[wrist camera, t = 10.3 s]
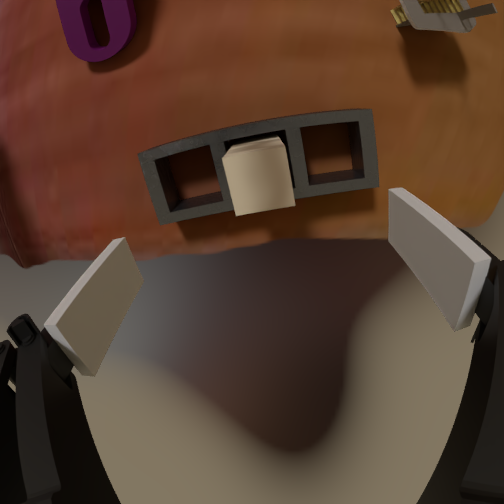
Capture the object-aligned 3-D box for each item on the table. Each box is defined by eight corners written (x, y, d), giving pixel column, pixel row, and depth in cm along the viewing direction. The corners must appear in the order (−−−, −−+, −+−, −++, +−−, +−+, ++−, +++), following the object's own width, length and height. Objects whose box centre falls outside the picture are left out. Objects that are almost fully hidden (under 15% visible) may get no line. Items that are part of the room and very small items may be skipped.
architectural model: (297, -30, 19) (315, -88, 7) (435, -39, 13) (484, -63, 1) (373, 103, 28) (435, 106, 16) (491, 73, 22) (554, 80, 10)
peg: (244, 180, 34) (235, 216, 23) (235, 141, 31) (222, 158, 21) (284, 173, 33) (295, 205, 23) (276, 133, 31) (285, 146, 20)
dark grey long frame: (170, 211, 36) (160, 225, 32) (151, 147, 32) (137, 153, 28) (366, 177, 33) (379, 187, 29) (358, 108, 28) (371, 109, 25)
